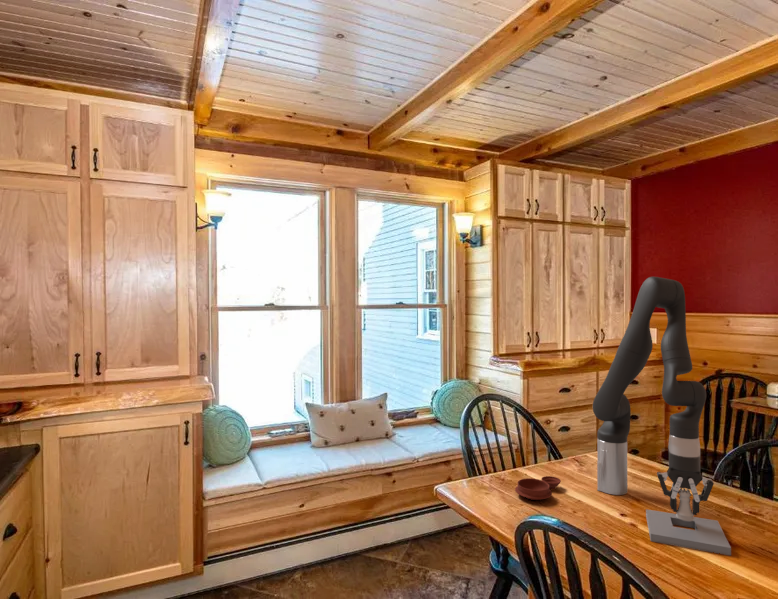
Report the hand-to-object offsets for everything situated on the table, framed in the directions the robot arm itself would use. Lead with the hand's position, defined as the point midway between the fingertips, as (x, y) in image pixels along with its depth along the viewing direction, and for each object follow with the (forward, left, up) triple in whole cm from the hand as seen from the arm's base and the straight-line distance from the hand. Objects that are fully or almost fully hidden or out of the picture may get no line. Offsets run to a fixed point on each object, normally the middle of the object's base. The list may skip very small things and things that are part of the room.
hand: (684, 512), depth 133 cm
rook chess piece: (0, 0, -2) cm, 2 cm away
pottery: (-40, +10, -6) cm, 42 cm away
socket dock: (0, -2, -5) cm, 6 cm away
